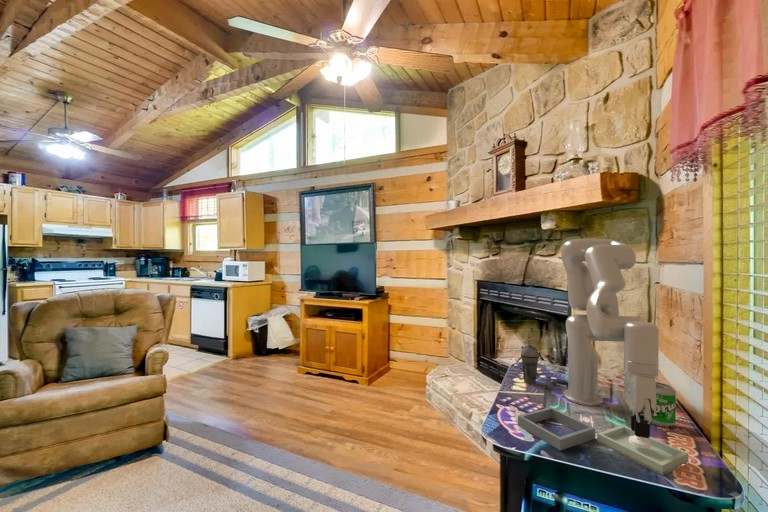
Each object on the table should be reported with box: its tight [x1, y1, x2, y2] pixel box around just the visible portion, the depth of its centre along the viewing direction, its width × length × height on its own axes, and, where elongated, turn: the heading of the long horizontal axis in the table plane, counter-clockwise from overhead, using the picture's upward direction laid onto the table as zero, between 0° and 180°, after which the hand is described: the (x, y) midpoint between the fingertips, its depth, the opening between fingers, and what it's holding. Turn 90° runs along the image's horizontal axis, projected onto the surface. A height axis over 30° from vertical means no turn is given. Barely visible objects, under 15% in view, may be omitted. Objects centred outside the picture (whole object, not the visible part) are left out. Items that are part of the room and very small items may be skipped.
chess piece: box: [629, 410, 651, 448], centre depth 91 cm, size 5×5×10 cm
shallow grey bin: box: [517, 406, 596, 451], centre depth 102 cm, size 15×15×3 cm
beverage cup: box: [520, 334, 540, 385], centre depth 141 cm, size 7×7×20 cm
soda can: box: [650, 381, 677, 428], centre depth 108 cm, size 8×8×12 cm
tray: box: [596, 424, 689, 476], centre depth 91 cm, size 12×16×2 cm
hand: (639, 433), depth 91 cm, fingers closed on chess piece
